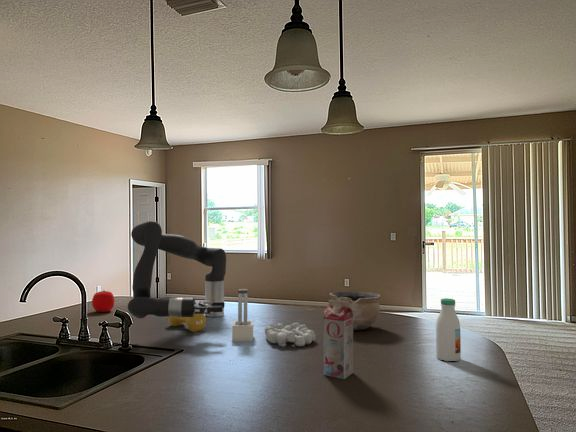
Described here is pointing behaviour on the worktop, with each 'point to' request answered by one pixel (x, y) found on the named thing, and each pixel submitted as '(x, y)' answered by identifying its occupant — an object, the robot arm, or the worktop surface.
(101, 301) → the tomato
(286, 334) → the campfire
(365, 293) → the ceramic bowl
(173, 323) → the dumbbell
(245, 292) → the grey long square block
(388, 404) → the worktop surface
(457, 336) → the milk bottle
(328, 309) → the juice carton
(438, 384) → the worktop surface
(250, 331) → the open box
